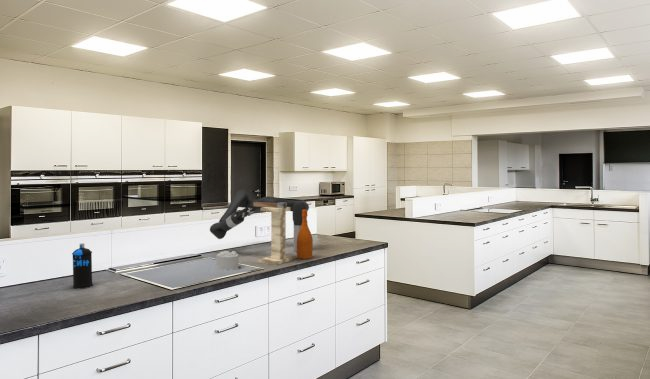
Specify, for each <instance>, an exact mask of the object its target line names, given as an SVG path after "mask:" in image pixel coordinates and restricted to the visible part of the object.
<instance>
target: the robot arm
mask: <svg viewBox="0 0 650 379" xmlns="http://www.w3.org/2000/svg"><path fill="white" fill-rule="evenodd" d="M253 202H263V203H280V202H284V203H287V207H291V211H290V212H292V222H293V251H294V252H297V236H298V233H299V231H300V228H301V225H302V219H303V217H302V210H303V209H306V210H307V212H308V211H309V209H310V205H309V204H308V202H307V201H305V200H294V199H293V200H291V199H285V198H282V197H276V196H269V195H267V196H264V197H262V198H259V199H252V198H250V197H249V193H248V191H247V190H246V189H240V190H239V189H238V190H237V191H236V193H235V194H234V196H233V197H232V199H231V202H230V204H229V206H228V207H227V209H226V211H225V212H224V213H223V215H222V216H221V217H220V218H219V220H218V222H215V223H213V224H211V225H210V227H209V232H210V233H211V234H212V235H213V236H215V238H217V239H218V240H221V239H223V238H225V236H226V235H227V232H228V231H230V230H232V229H234V228H235V227H238V225H240V224H241V223H243V222H244V221H245V218H247V217H250V216H252V215H253V214H255V213H256V211H257V210H258V209H259V210H261V208H262V207H256V206H253ZM239 208H242V209H239ZM238 209H239V210H238Z"/></svg>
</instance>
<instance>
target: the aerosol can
mask: <svg viewBox="0 0 650 379" xmlns="http://www.w3.org/2000/svg"><path fill="white" fill-rule="evenodd" d="M92 253H93V251H91V250H90V248H85V243H84V242H83V243H79V248H77V249H75V250H74V251H73V252H72V253H71V255H72V278H73V280H72V283H73V285H72V288H74V289H77V288H80V289H87V288H86V287H88V288H91V287H92V286H93V285H94V284H93V264H92V263H93V262H92ZM90 286H91V287H90Z"/></svg>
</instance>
